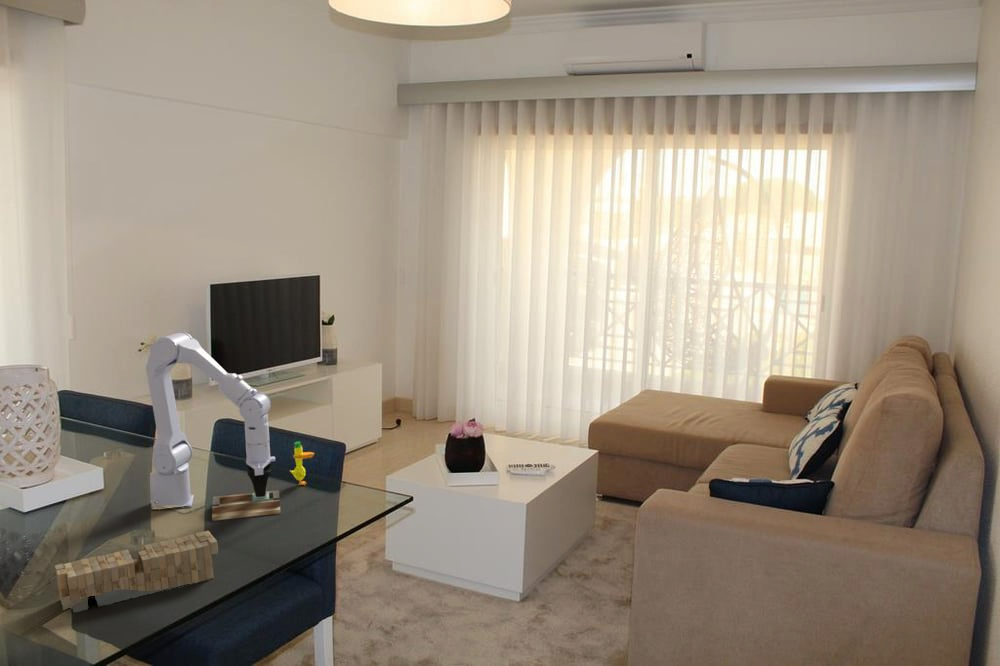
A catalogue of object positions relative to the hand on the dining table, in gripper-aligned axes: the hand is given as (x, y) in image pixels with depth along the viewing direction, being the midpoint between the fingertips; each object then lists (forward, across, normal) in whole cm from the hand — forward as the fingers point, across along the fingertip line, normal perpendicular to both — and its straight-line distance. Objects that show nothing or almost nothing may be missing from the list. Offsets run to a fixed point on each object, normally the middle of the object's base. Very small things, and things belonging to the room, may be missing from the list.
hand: (260, 494), depth 212 cm
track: (+3, 0, +4) cm, 5 cm away
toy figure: (+4, +14, -11) cm, 18 cm away
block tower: (+4, -40, +23) cm, 46 cm away
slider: (+2, 0, 0) cm, 2 cm away
